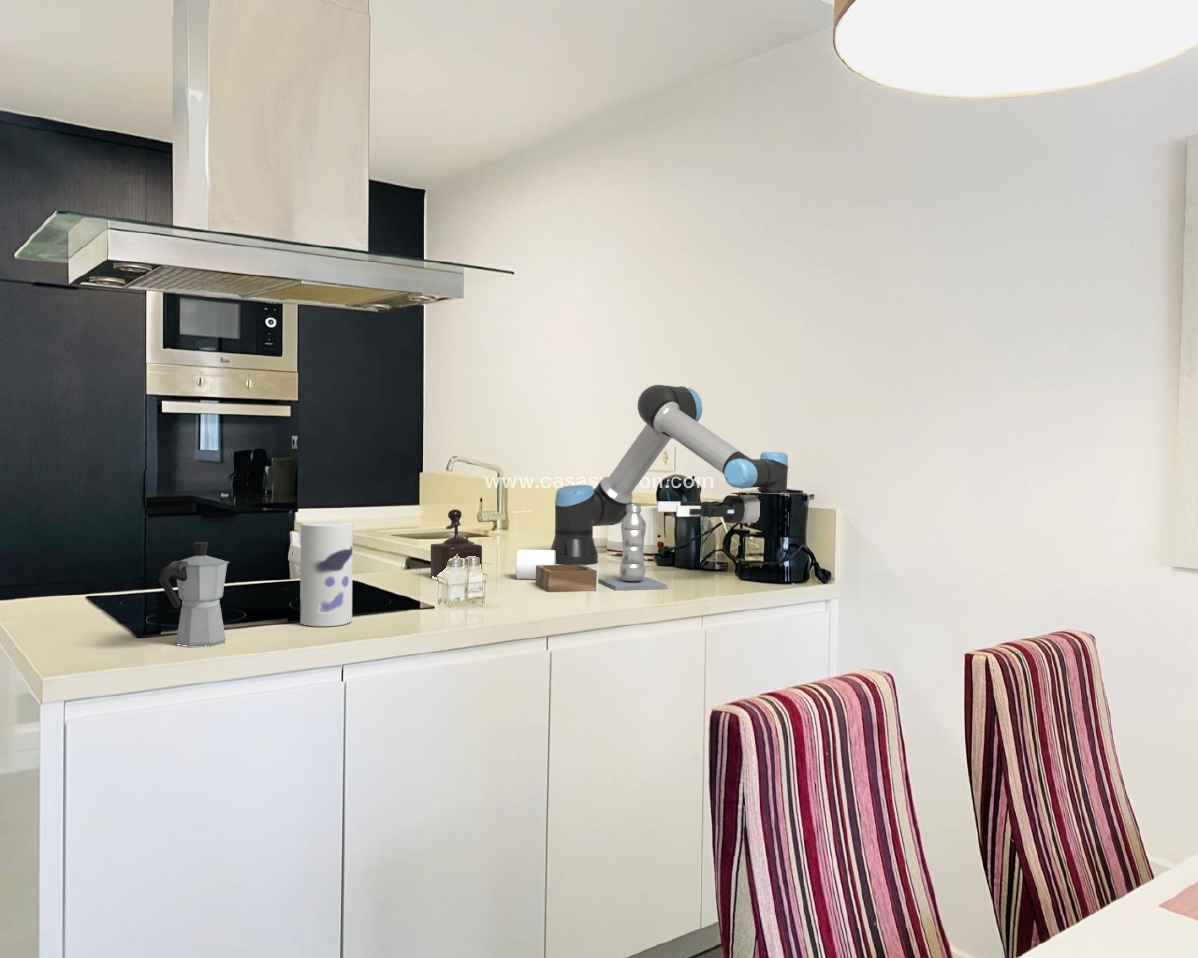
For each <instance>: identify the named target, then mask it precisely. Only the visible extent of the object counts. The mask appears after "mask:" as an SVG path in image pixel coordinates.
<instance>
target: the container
mask: <svg viewBox="0 0 1198 958" xmlns="http://www.w3.org/2000/svg"><path fill="white" fill-rule="evenodd" d="M353 525H354V524H353V523H352V522H348V521H332V520H331V521H329V520H328V521H327V520H326V521H322V520H321V521H308V522H302V523H300V573H299V574H300V575H299V576H300V578H299V579H300V582H299V583H300V585H299V586H300V588H299V590H300V591H299V592H300V593H299V597H300V598H299V599H300V600H299V601H300V602H299V618H300V619H299V624H301V625H304V626H307V625H308V626H309V627H337V626H344V625H347V623H348V624H350V623H352V622H351V621H353V553H354V552H353V550H354V549H353V546H354V545H353V544H354V543H353V542H354V540H353V536H354V533H353V532H354V531H353V530H354V526H353ZM349 622H350V623H349Z"/></svg>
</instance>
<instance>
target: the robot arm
mask: <svg viewBox="0 0 1198 958" xmlns="http://www.w3.org/2000/svg"><path fill="white" fill-rule="evenodd" d="M702 403H703V402H702V399H701V397H700V395H699V394H698V392H696V391H695V390H694V389H693V388H690V387H686V386H683V385H682V386H681V385H680V386H672V385H664V384H655V385H651V386H648V387H646V389H644V390H643V391H642V392H641V393H640V395H639V397H638V400H637V412H638V414H639V417H640V418H641V419H642V421H643V422H644V423H645V425H644V426H643V429H642V430H641V431H640V432H639V434H638V435H637V437H636V438H635V440H634V441H633V443H632V444H631V446H630V447H629V448H628V450H627V451H626V452H625V454H624V455H623V457H622V458H621V459H620V462H618V464H617V465H616V467H615V468H614V470H613V471H612V473H611V474H610V475H609V476H604V477H603V478H601V480H600V481H599V482H598V484H597V485H596V487H593V485H590V484H576V485H567V486H562V487H560V488H558V489H557V490H556V492H555V500H554V511H555V513H554V538H553V541H552V544H551V547H550V550H555V555H556V564H559V565H576V564H582V565H587V564H588V565H590V564H596V563H598V562H599V555H598V554H599V553H598V551H597V547H596V544H595V543H596V542H595V540H594V534H593V533H594V532H593V530H594V527H602V526H614V525H619V524H622V521H623V519H624V518H625V516H626V515H627V512H626V510H627V505H628V504H633V502H632V501H633V498H634V497H633V491H634V490H635V488H636V487H637V486H638V485H639V483H641V480H642V479H643V477H644V476H645V475H646V473H647V472H649V469H650V468H651V467H652V466H653V464H654V462H655V461H656V460H657V459H658V457H659V456H660V454H661V453H662V452H663V450H664V449H665V448H666V446H667V445H668V444H669V442H670V441H671V440H672V439H673V440H675V441H677V442H678V443H679V444H681V445H682V446H683V447H685V448H686V449H688V451H690V452H692V453H693V454H694V455H696V456H697V457H699V458H700V459H701V460H703V461H704V462H706V463H707V464H708V465H710V466H711V467H713V468H714V469H716V470H717V471H719V472H720V473H721V474H722V475H724V478H725V481H726V484H728V485H729V486H730V487H733V488H738V489H749V488H758V493H759V492H761V493H781V492H787V490H788V474H789V472H788V471H789V462H788V461H789V458H788V457H789V456H788V455H787V454H788V453H785V452H777V451H776V452H773V451H764V452H761V453H760V455H759V457H760V458H754V459H753V458H751V457H749V456H747V455H745V454H744V453H743V452H741V451H740V450H739V449H737V448H736V447H734V446H733V445H732V444H730V443H729V442H727V441H726V440H725V439H723V438H722V437H720V436H718V435H717V434H716V433H714V432H713V431H711V430H710V429H709V428H706V427H705V426H704V425H703V424H701V423H700V422H699V421H700V419H701V417H702V414H703V405H702ZM787 493H788V492H787ZM758 496H759V495H753V494H752V495H750V494H746V495H745V494H742V495H739V494H734V495H733V494H732V495H731V494H728V495H726V496H725V497H724V498H723V500H722V501H715V500H713V501H682V500H679V501H678V500H677V501H656V512H665V513H667V512H670V513H673V512H675V514H676V515H675V516H676V517H678V518H681V517H690V518H691V517H696V518H697V517H703V518H708V519H710V518H722V519H723V521H724V522H726V523H727V524H740V523H741V524H746V525H747V526H751V524H757V523H756V522H757V521H758V520H759V517H760V503H761V501H760V498H759V497H758ZM758 498H759V499H758Z"/></svg>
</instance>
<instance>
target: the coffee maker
mask: <svg viewBox="0 0 1198 958" xmlns="http://www.w3.org/2000/svg"><path fill="white" fill-rule="evenodd" d="M208 544H209V542H208V541H205V542H204V541H199V542H197V541H196V542H194V543H193V546H194V552H195V555H193V556H190V557H188V558H184V559H181V560H175V561H172V562H170V564H169V565H167V566H165V567H164V568H162V571H161V573H160V576H159V579H158V582H159V584H160V586H161V587H162V588H163V590H164V592H165V594H166V596H167V597H168V599H169V601H170V602H171V605H172V606H173V608H175V609H178V608H179V607H180V605H181V608H180V616H179V622H178V628H177V633H176V639H175V640H176V641H175V644H176V643H177V644H181V645H187V646H205V645H207V646H208V645H209V647H212V646H211V645H214V646H216V645H215V644H218V645H220V644H219V643H223V644H225V643H226V634H225V626H224V621H223V614H222V608H221V604H220V601H221V600H220V599H221V598H222V597H223V596H224V588H225V584H226V583H225V581H226V576H227V575H226V573H227V568H228V564H229V563H230V561H227V560H223V559H219V558H218V557H217V558H216V557H212V556H209V555H207V549H208ZM170 578H172V579H174V580H176V584H177V591H178V592H177V593H178V595H177V593H176V591H175V590H174V588H173V586H172V584H171V583H170V581H169V579H170ZM181 600H182V601H181Z"/></svg>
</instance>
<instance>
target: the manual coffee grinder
mask: <svg viewBox="0 0 1198 958" xmlns="http://www.w3.org/2000/svg"><path fill="white" fill-rule="evenodd" d="M447 518H448V519H450V524H449V525H447V526H445V530H452V529H454V534H453V537H450V538H449V537H448V539H445V540H444V541H443V542H441V543H433V544H430V576H431V575H432V576H434V577H437V575H438V574H439V573H440V572H442V571H443V570H444V569H445V568H446V565H447V562H448V560H449V559H450V558H453V557H454V556H456V554H457V553H458V556H459V557H460V558H466V557H468V556H476V557H479V558H480V564H481V569H482V570H483V546H482V545H481V544H476V543H475V542H474V541H470V540H469V535H467V536H466V537H463V536H459V527H460V526H461V525H462V524H461V523H460V519H461V518H462V511H461V510H459V509H454V508H453V509H451V510H450V511H448V514H447Z"/></svg>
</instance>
